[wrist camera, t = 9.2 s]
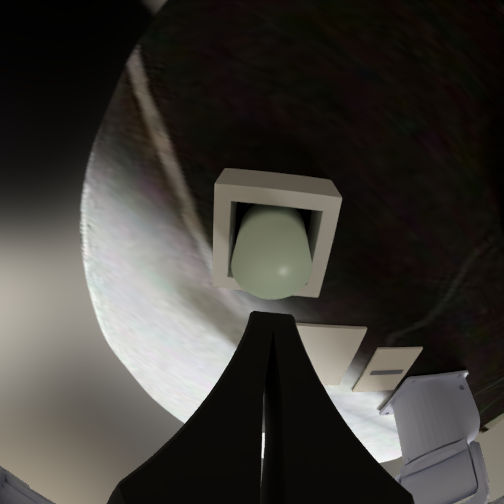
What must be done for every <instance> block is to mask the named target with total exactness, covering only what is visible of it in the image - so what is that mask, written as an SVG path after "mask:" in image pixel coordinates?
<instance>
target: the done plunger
mask: <svg viewBox="0 0 504 504" xmlns="http://www.w3.org/2000/svg"><path fill="white" fill-rule="evenodd" d="M231 269H232V274H233V276H234V279H235V280H236V282H237V283H238V285H239V286H240V287H241V288H242V289H243V290H244V291H246V292H247V293H249V294H251V295H253V296H255V297H258V298H262V299H270V300H274V299H282V298H286V297H289V296H291V295H293V294H295V293H297V292H298V291H299V290H301V289H302V288H303V287H304V286H305V284H306V283H307V282H308V280H309V278H310V275H311V271H312V261H311V256H310V250H309V245H308V240H307V235H306V230H305V225H304V221H303V218H302V217H301V215H300V213H299V212H298V211H297V210H296V209H295V208H293V207H285V206H276V205H266V204H255V205H254V206H252V207H251V208H250V209H249V210H248V211H247V212H246V213H245V215H244V217H243V219H242V222H241V225H240V229H239V233H238V237H237V241H236V245H235V249H234V253H233V257H232V263H231Z"/></svg>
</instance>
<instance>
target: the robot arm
mask: <svg viewBox="0 0 504 504" xmlns="http://www.w3.org/2000/svg"><path fill="white" fill-rule="evenodd" d="M467 374H468V371H467V370H464V371H457V372H449V373H441V374H433V375H423V376H411V377H408V378H406V380H405V381H404V382H403V383H402V385H401V386H400V387H399V389H398V390H397V391H396V392H395V394H394V395H393V396H392V397H391V399H390V400H389V401H388V402H387V404H386V405H385V406H384V407H383V408H382V410H381V411H380V412H379V413H380V415H391V414H394V417H395V421H396V426H397V431H398V435H399V440H400V446H401V451H402V456H403V462H404V467H401V468H400V473H401V474H399V475H397V476H396V478H395V479H394V478H392V476H391V475H390V474H389V473H388V472H387V471H386V470H385V469H383V467H382V466H381V465H380V464H379V463H378V462H377V461H376V460H375V459H374V458H373V456H372V455H371V454H370V453H369V452H368V450H367V449H366V448H365V447H364V446H363V444H362V443H361V442H360V441H359V439H358V438H357V437H356V436H355V435H354V433H353V432H352V430H351V429H350V428H349V426H348V425H347V424H346V422H345V421H344V419H343V418H342V416H341V415H340V413H339V412H338V410H337V409H336V407H335V406H334V404H333V402H332V401H331V399H330V397H329V395H328V394H327V392H326V390H325V388H324V387H323V385H322V383H321V381H320V379H319V377H318V375H317V373H316V371H315V369H314V367H313V365H312V363H311V361H310V358H309V356H308V354H307V352H306V349H305V347H304V345H303V342H302V340H301V337H300V334H299V332H298V329H297V326H296V323H295V319H294V317H293V316H292V315H291V314H280V313H269V312H259V311H253V312H251V313H250V316H249V320H248V324H247V327H246V329H245V332H244V334H243V337H242V339H241V341H240V343H239V345H238V347H237V349H236V351H235V353H234V355H233V357H232V359H231V360H230V362H229V364H228V366H227V367H226V369H225V370H224V372H223V374H222V375H221V377H220V378H219V380H218V382H217V383H216V385H215V386H214V387H213V389H212V390H211V392H210V393H209V395H208V396H207V397H206V399H205V400H204V401H203V402H202V404H201V405H200V406H199V408H198V409H197V410H196V411H195V412H194V414H193V415H192V416H191V417H190V418H189V419H188V421H187V422H186V423H185V424H184V425H183V426H182V427H181V428H180V430H179V431H178V432H177V433H176V434H175V435H174V436H173V437H172V438H171V439H170V440H169V441H168V442H167V443H166V444H164V446H162V447H161V448H160V449H159V450H158V451H157V452H156V453H155V454H154V455H153V456H152V457H151V458H149V459H148V460H147V461H146V462H145V463H143V464H142V465H141V466H139V467H138V468H137V469H136V470H134V471H133V472H132V473H130V474H129V475H128V476H127V477H125V478H124V479H122V480H121V481H120V482H119V483H118V485H117V486H116V488H115V490H114V491H113V492H112V494H111V496H110V498H109V500H108V502H107V504H453V503H455V502H458V501H460V500H462V499H464V498H467V497H469V496H471V495H473V494H475V493H476V494H475V495H474V496H473V497H472V498H471V499H469V500H468V501H466V502H463V503H461V504H486V503H487V501H488V497H489V495H490V492H489V487H488V483H489V480H488V476H487V471H486V467H485V463H484V459H483V455H482V451H481V448H480V444H479V443H478V442H474V441H473V440H474V439H475V437H476V436H477V433H478V431H479V425H480V417H479V413H478V410H477V407H476V404H475V402H474V399H473V396H472V394H471V391H470V389H469V386H468V384H467V382H466V379H465V377H466V376H467ZM263 397H264V417H265V448H264V460H263V471H262V481H261V453H262V423H263ZM469 445H470V447H469ZM470 450H471V451H470ZM0 504H55V503H53V502H52V501H50V500H49V499H47V498H45V497H43V496H42V495H40V494H39V493H37V492H35V491H34V490H32V489H31V488H30V487H29V485H27V484H26V483H24V482H23V481H22V480H20V479H19V478H17V477H16V476H15V475H13V474H12V473H10V472H9V471H7V470H6V469H4V468H3V467H1V466H0ZM487 504H504V496H502V497H500V498H498V499H496V500H494V501H492V502H490V503H487Z"/></svg>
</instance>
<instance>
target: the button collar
mask: <svg viewBox="0 0 504 504" xmlns="http://www.w3.org/2000/svg"><path fill="white" fill-rule="evenodd" d="M237 202H247V203H257V204H266V205H276V206H285V207H293V208H302V209H310V210H312V213H311V218H310V224H309V229H308V235H307V240H308V245H309V250H310V256H311V261H312V271H311V275H310V278H309V280H308V282H307V283H306V284H305V286H304V287H303V288H302V289H301V290H299V291H298V292H297V293H295V294H293V295H294V296H305V297H317V298H318V297H319V293H320V289H321V286H322V282H323V278H324V274H325V271H326V267H327V263H328V259H329V255H330V251H331V246H332V242H333V238H334V234H335V229H336V225H337V220H338V216H339V211H340V206H341V202H342V197H341V195H340V193H339V192H338V190H337V189H336V187H335V185H334V184H333V182H332V181H331V180H328V179H321V178H314V177H307V176H299V175H291V174H283V173H274V172H264V171H254V170H243V169H231V168H225V169H224V170H223V172H222V173H221V175H220V176H219V178H218V179H217V181H216V182H215V187H214V225H213V287H218V288H227V289H236V290H243V289H242V288H241V287H240V286H239V285H238V283H237V282H236V280H235V279H234V276H233V274H232V269H231V263H232V257H233V253H234V244H235V227H236V210H237Z"/></svg>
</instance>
